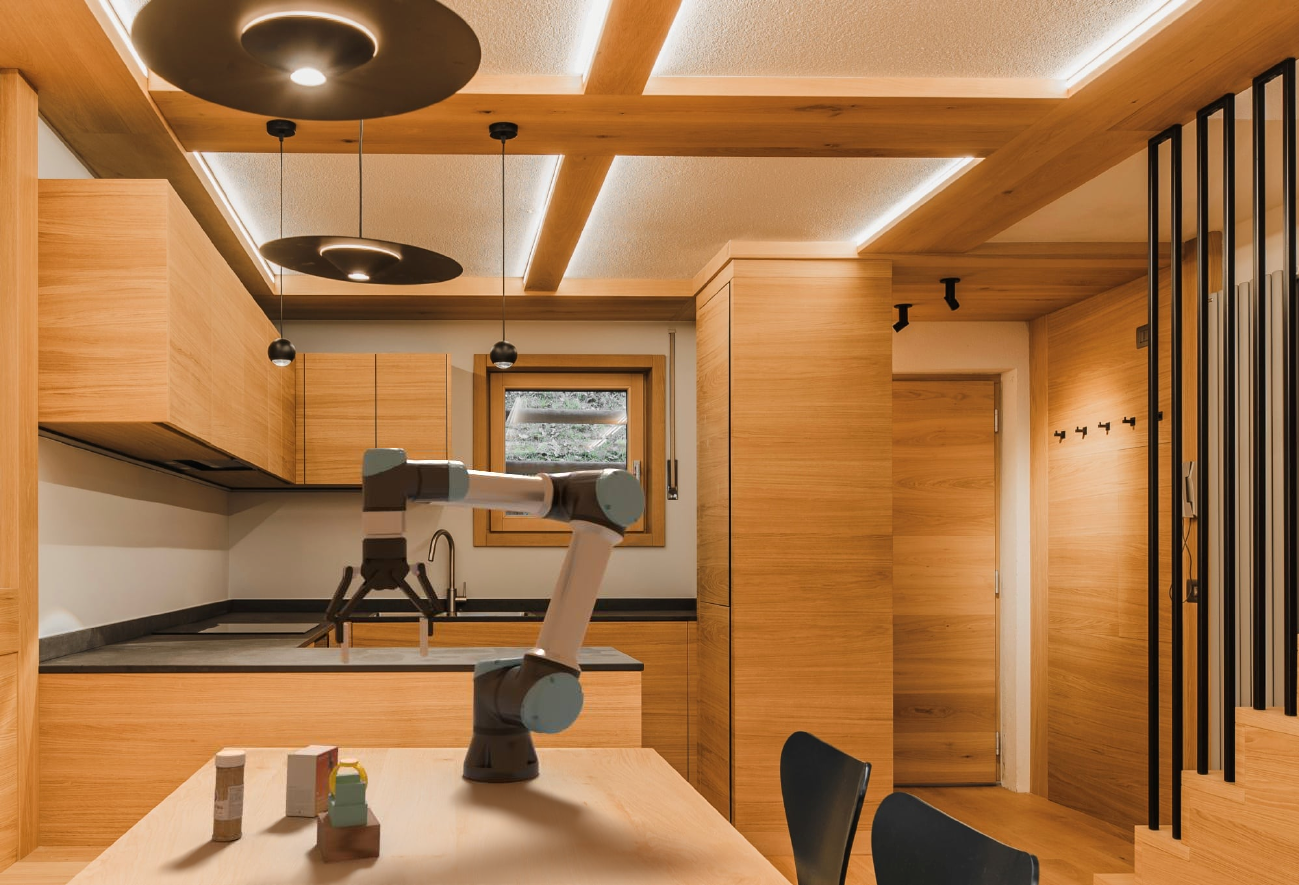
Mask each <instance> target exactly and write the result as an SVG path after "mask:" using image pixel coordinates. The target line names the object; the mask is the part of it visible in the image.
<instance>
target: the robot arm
mask: <svg viewBox="0 0 1299 885" xmlns="http://www.w3.org/2000/svg"><path fill="white" fill-rule="evenodd" d="M361 484H362V486H361V487H362V488H361V489H362V527H361V528H362V533H361V534H362V535H364V536H365V538H363V540H362V542H361V543H362V557H361V558H362V562H361V565H360V566H351V565H348V564H347V565H345V566H344V567H343V571H342V577H341V580H340V583H339V584H338V586H337V589H336V590H335V592H334V595H333V597H331V598H332V599H331V600H330V603H329V604H328V606H327V608H326V610H325V613H324V615H323V619H324V620H325V621H326V622H329V623H333V624H334V641H335V643H336V644H340V647H341V648H340V649H341V650H340V651H341V652H340V653H341V654H340V657H341V659H340V661H341V663H343V664H350V660H349V659H350V658H349V656H350V654H349V653H350V652H349V651H350V649H349V648H350V647H349V646H350V643H349V642H350V641H349V639H350V638H349V637H350V636H349V634H350V633H349V632H350V631H349V630H350V628H349V623H347V622H346V621H347V619H348V618H349V617H350V616H351V615H352V613H353V612H354V611H355V609H356V608H357V607H358V606H359V604H360V603H361V602H362V601H363V600H364V598H365V597H366V596H367V594H369V593H370V592H371V591H372V590H374V591H383V590H389V591H394V590H396V589H399V590H401V591H402V592H403V594H404V595H405V596H406V597H407V598H408V599H409V600H410V602H412V604H413V605H414V606H415V607H416V608H417V609H418V610H419V611H420V613H421V614H422V615H423V616H424V617H419V656H421V657H425V658H426V657H429V637H433V636H434V619H435V617H436V616H438V615H442V614H443V613H444V612H445V608H444V607H443V606H442V603H441V601H440V599H439V597H438V595H437V593H436V592H435V589H434V588H433V586H432V584H431V581H430V580H429V577H428V575H427V572H426V571H427V570H426V565H425V562H419V561H417V562H415V563H412V564H409V563H408V559H407V558H408V556H407V555H408V553H407V552H408V551H407V550H408V543H407V542H408V539H406V537H404V535H406V534H407V531H408V530H407V528H408V527H407V504H416V505H432V506H444V507H445V506H446V507H454V508H455V507H456V508H468V509H469V508H471V509H482V510H493V511H506V512H520V513H529V514H530V515H531V516H532V517H534V518H536V519H544V520H545V519H546V520H551V521H557V522H561V523H566V524H568V526H569V527H570V530H571V532H572V537H571V539H570V543H569V546H568V549H567V551H566V555H565V556H564V557H565V558H564V560H563V563H562V565H561V566H562V567H561V569H560V572H559V575H558V578H557V581H556V583H555V586H554V590H553V592H552V595H551V598H550V602H549V605H548V607H547V610H546V613H545V617H544V619H543V623H542V624H541V628H540V632H539V634H538V638H537V641H536V644H535V646H534V647H532V648H531V649H529V650H528V651H525V652H524V655H523V656H518V657H517V656H516V657H506V658H505V657H503V658H493V659H482V660H478V662H476V664H475V665H474V670H473V672H474V673H473V678H472V682H473V708H472V710H473V712H472V736H471V739H470V742H469V746H468V748H467V751H466V753H465V754H466V755H465V757H464V761H463V767H462V775H463V776H464V777H465V778H466V779H470V780H472V781H479V782H486V783H506V782H507V783H508V782H517V781H522V780H523V781H524V780H528V779H532V778H533V777H534V778H535V776H537V775H538V774H539V772H540V770H539V768H540V765H539V764H540V763H539V757H538V754H537V750H536V748H535V745H534V740H533V737H532V734H531V732H534V733H535V734H546V735H554V734H555V735H557V734H559V733H561V732H563V731H565V730H567V729H569V727H571V726H572V725H573V724H574V723H575V722H576V721H577V719H578V718H579V716H580V714H581V713H582V709H583V707H584V701H585V700H584V697H585V696H584V692H583V690H582V689H583V686H582V684H581V682H580V681H579V679H580V676H581V674H582V669H581V667H580V665H579V663H578V658H579V653H580V652H581V648H582V645H583V642H584V639H585V636H586V632H587V630H588V627H589V623H590V621H591V617H592V615H593V614H592V613H593V611H594V608H595V604H596V601H597V599H598V595H599V592H600V589H601V587H602V586H601V585H602V582H603V579H604V576H605V574H606V573H605V572H606V570H607V567H608V563H609V560H610V557H611V554H612V551H613V548H614V547H615V546H617V545H619V544H620V543H622V542H623V541H624V539H625V538H624V537H625V535H626V531H627V528H628V527H630V526H633V525H634V524H635V523H637V522H639V521H640V520H641V518H642V516H643V514H644V511H645V507H646V497H645V496H646V495H645V491H644V489H643V488H642V485H641V483H640V481H639V479H638V478H637V477H636V476H635V475H634V474H633V473H631V472H630V471H628V470H627V469H626V470H625V469H621V468H618V469H617V468H614V467H613V468H605V469H596V470H595V469H594V470H593V469H592V470H576V471H571V472H569V471H568V472H560V473H546V472H538V473H536V474H535V475H534V476H527V475H519V474H510V473H509V474H508V473H500V472H491V471H490V472H489V471H479V470H471V469H468V468H467V465H466V464H465V463H463V462H461V461H458V460H450V459H446V460H444V459H442V460H434V459H433V460H411V459H408V457H407V452H406V450H405V449H403V448H398V447H397V448H396V447H394V448H393V447H383V448H382V447H380V448H379V447H377V448H369V449H366V450H365V451H364V453H363V455H362V466H361ZM410 572H411V573H412V575H413V576H415V577H416V579H417V581H418V583H419V584H420V587H421V588H422V591H423V592H424V594H425V596H426V598H427V600H428V602H429V604H430V606H431V608H430V607H429V606H428V605H427V604H426V603H425V602H424V601H423V600H422V598H421V597H420V596H419V595H418V593H417V592H416V591H415V590H414V589H413V588H412V587H411V585H410V584H409V583H408V581H406V580H405V578H406V577H407V575H408V574H409V573H410ZM358 574H360V576H361V578H363V580H364V581H363V582H362V584H361V585H360V586H359V587H358V589H357V591H355V593H354V594H353V595H352V597H351V598H350V599H349V600H348V601H347V602H346V604H345V605H344V606H343V608H342V609H341V610H340V611H339V613H338V614H337V612H338V610H339V608H340V607H341V604H342V601H343V600H344V597H345V596H346V594H347V592H348V591H349V588H350V586H351V583H352V581H353V580H354V579H356V578H357V575H358Z"/></svg>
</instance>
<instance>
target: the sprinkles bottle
mask: <svg viewBox="0 0 1299 885" xmlns="http://www.w3.org/2000/svg"><path fill="white" fill-rule="evenodd" d="M246 754H247V753H246V751H244V750H241V749H229V750H228V749H227V750H222V751H219V752H217V753H216V754H215V756H214V765H215V788H214V802H213V824H212V825H213V827H212V835H211V839H212V840H214V841H215V842H230V841H235V840H238V839H240V838H241V837H242V836H243V832H242V826H243V824H242V823H243V814H244V792H245V782H244V781H245V780H244V779H245V766H246V763H247V762H246V761H247V760H246V759H247V755H246Z"/></svg>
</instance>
